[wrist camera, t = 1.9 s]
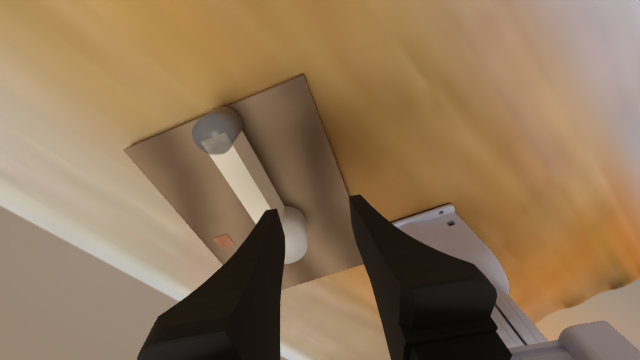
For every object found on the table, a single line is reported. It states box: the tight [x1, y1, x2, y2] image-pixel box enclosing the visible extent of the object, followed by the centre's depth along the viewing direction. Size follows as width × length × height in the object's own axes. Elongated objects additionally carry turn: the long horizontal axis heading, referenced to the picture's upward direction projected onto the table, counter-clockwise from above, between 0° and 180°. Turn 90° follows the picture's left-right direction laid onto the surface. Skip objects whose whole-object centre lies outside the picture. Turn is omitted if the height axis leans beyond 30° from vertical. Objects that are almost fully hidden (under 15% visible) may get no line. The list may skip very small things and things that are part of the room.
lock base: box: [124, 74, 364, 290], centre depth 24 cm, size 16×22×2 cm
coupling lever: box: [192, 107, 307, 264], centre depth 20 cm, size 14×4×3 cm, turn 20°
